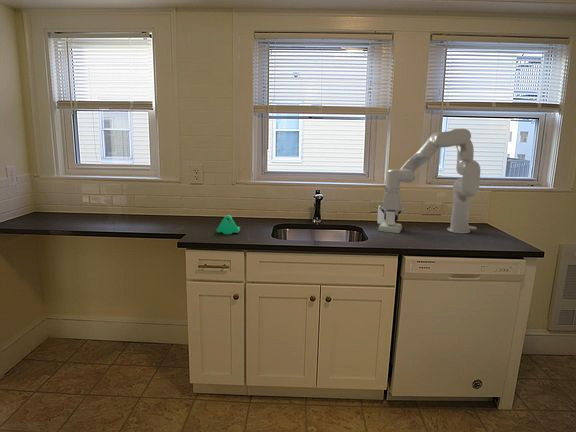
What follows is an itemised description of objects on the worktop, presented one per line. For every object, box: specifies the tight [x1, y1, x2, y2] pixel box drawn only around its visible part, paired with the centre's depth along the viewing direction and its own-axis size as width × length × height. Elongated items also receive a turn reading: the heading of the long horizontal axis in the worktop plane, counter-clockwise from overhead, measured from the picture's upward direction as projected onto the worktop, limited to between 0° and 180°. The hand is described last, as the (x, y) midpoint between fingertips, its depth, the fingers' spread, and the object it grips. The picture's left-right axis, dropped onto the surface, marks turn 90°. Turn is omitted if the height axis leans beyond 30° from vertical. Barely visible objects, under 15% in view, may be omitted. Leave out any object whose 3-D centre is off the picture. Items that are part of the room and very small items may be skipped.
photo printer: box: [377, 204, 386, 225], centre depth 255 cm, size 10×4×12 cm, turn 39°
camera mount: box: [216, 214, 241, 235], centre depth 228 cm, size 12×8×10 cm, turn 90°
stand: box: [378, 222, 403, 234], centre depth 241 cm, size 12×12×3 cm
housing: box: [385, 210, 397, 225], centre depth 240 cm, size 8×5×8 cm, turn 159°
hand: (390, 220), depth 240 cm, fingers closed on housing, 5 cm apart
